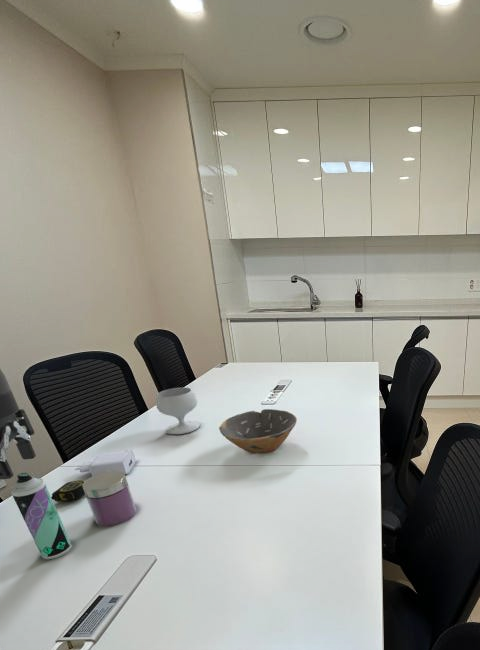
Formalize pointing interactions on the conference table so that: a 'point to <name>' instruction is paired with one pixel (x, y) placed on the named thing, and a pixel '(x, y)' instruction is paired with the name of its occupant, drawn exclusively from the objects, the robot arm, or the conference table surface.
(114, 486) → the jar lid
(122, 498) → the jar
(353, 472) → the conference table surface
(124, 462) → the charger
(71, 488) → the tape measure
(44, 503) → the spray can
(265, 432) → the bowl
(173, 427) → the chalice
